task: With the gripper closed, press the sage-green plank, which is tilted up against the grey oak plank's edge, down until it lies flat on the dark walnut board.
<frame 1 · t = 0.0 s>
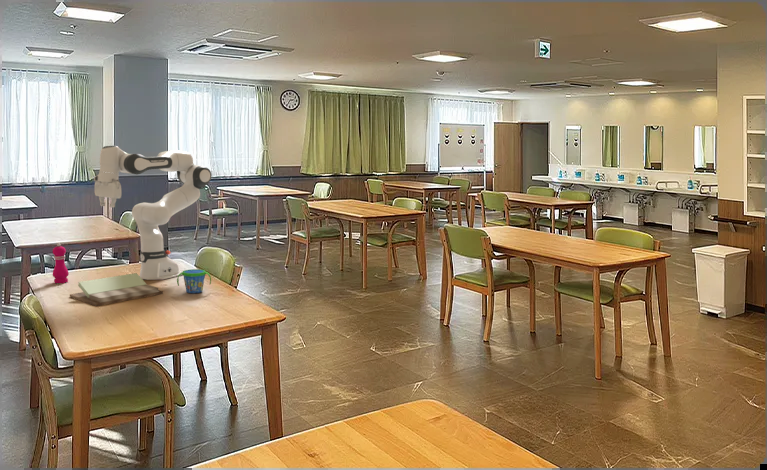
hand: (107, 206, 321), 39 cm above the table, tool pointing down, fingers open, 8 cm apart
floor board: (116, 295, 303), on the table
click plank: (113, 284, 304), point 4 cm above the table, hinge at 25.0°
snack cup: (194, 292, 311), on the table
pepper mill: (61, 282, 329), on the table
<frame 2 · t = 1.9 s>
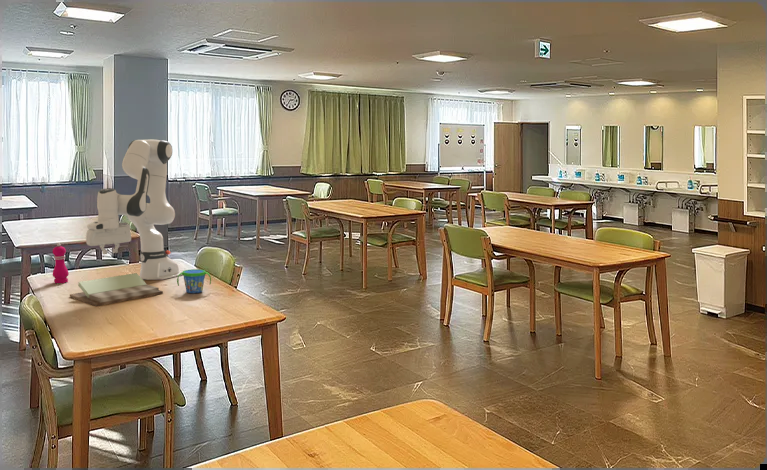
hand: (110, 253, 303), 19 cm above the table, tool pointing down, fingers open, 3 cm apart
nothing on the table moved.
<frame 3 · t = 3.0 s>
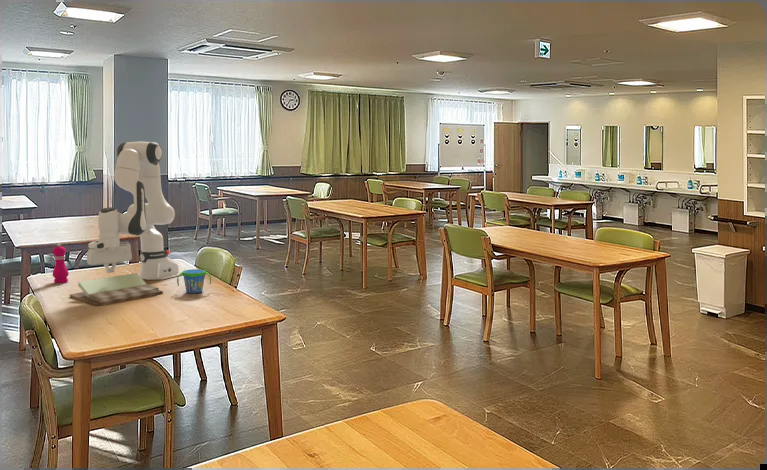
hand: (110, 272, 304), 10 cm above the table, tool pointing down, fingers closed
nothing on the table moved.
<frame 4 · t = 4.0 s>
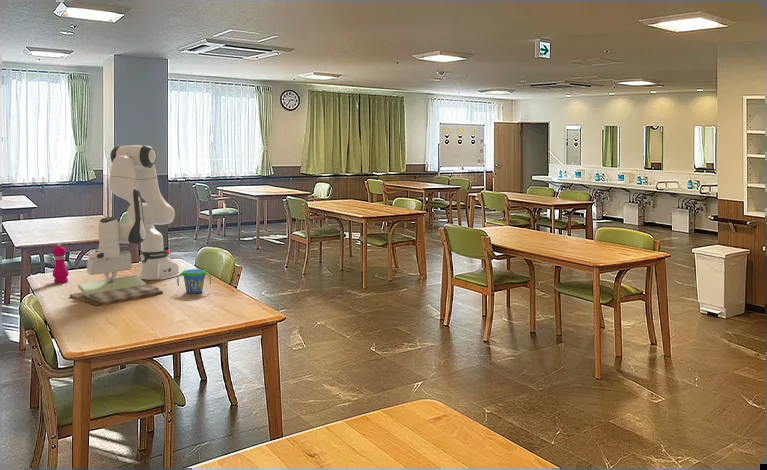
hand: (110, 281, 305), 6 cm above the table, tool pointing down, fingers closed, pressing on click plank
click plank: (113, 286, 304), point 4 cm above the table, hinge at 18.7°, touching gripper
everything else where it was.
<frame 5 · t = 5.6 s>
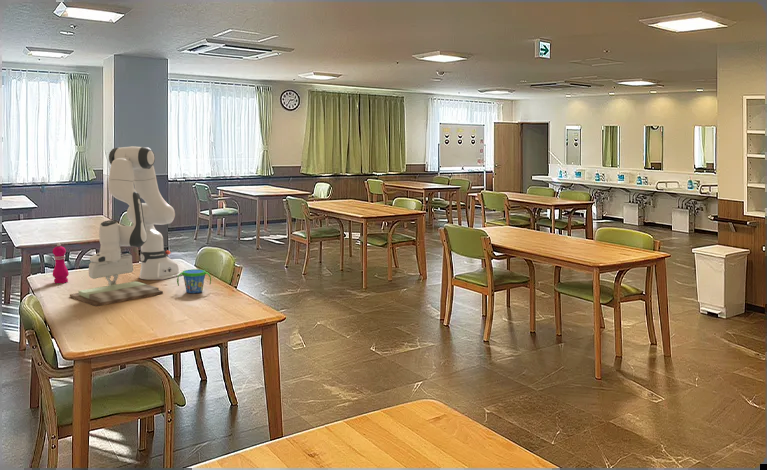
hand: (112, 284, 306), 4 cm above the table, tool pointing down, fingers closed
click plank: (113, 289, 305), point 2 cm above the table, hinge at 0.4°
everything else where it was.
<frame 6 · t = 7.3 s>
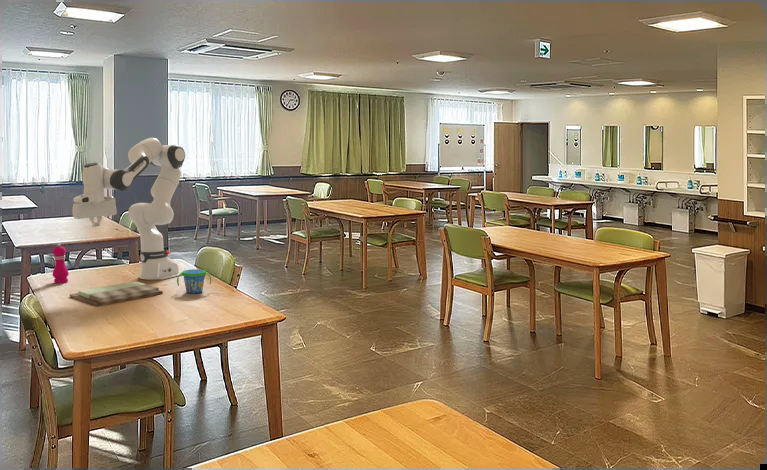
hand: (96, 226, 311), 30 cm above the table, tool pointing down, fingers closed
nothing on the table moved.
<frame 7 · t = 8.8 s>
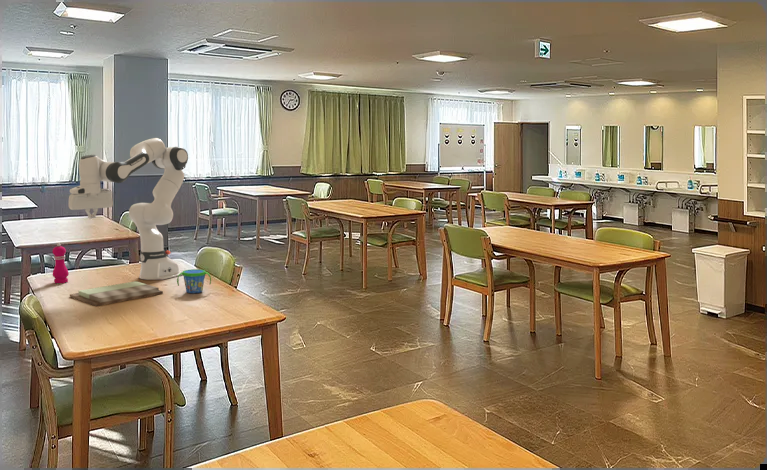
hand: (92, 218, 313), 34 cm above the table, tool pointing down, fingers closed
nothing on the table moved.
at the end: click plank at +0° (first picture: +25°); pepper mill moved 0.2 cm from its start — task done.
